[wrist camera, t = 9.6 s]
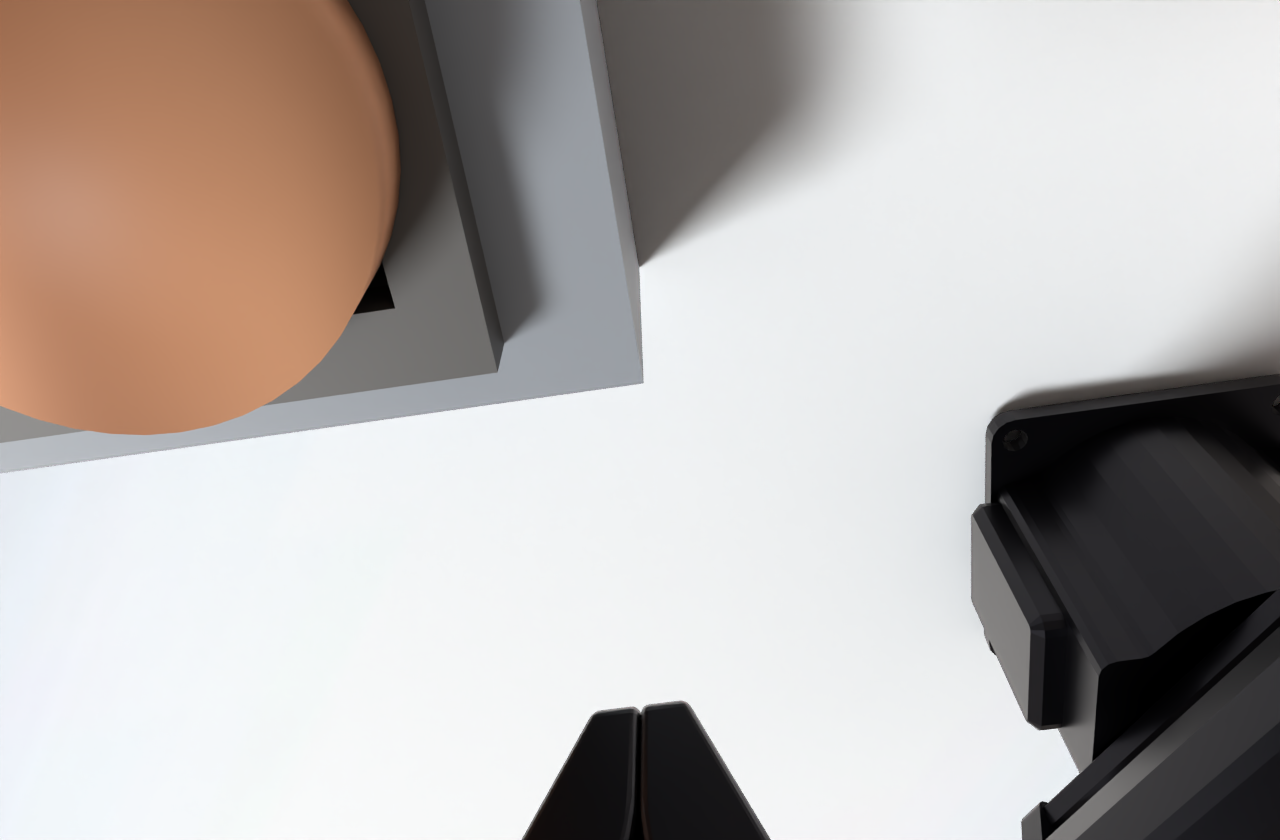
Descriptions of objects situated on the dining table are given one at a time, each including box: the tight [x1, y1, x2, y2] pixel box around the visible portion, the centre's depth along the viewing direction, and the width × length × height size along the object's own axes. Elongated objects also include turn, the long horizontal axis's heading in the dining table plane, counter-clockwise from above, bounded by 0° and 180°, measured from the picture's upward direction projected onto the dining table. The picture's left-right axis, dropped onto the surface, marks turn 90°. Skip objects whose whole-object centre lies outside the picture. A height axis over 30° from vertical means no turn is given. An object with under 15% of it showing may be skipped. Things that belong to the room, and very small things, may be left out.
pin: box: [0, 0, 401, 435], centre depth 15 cm, size 7×7×6 cm
